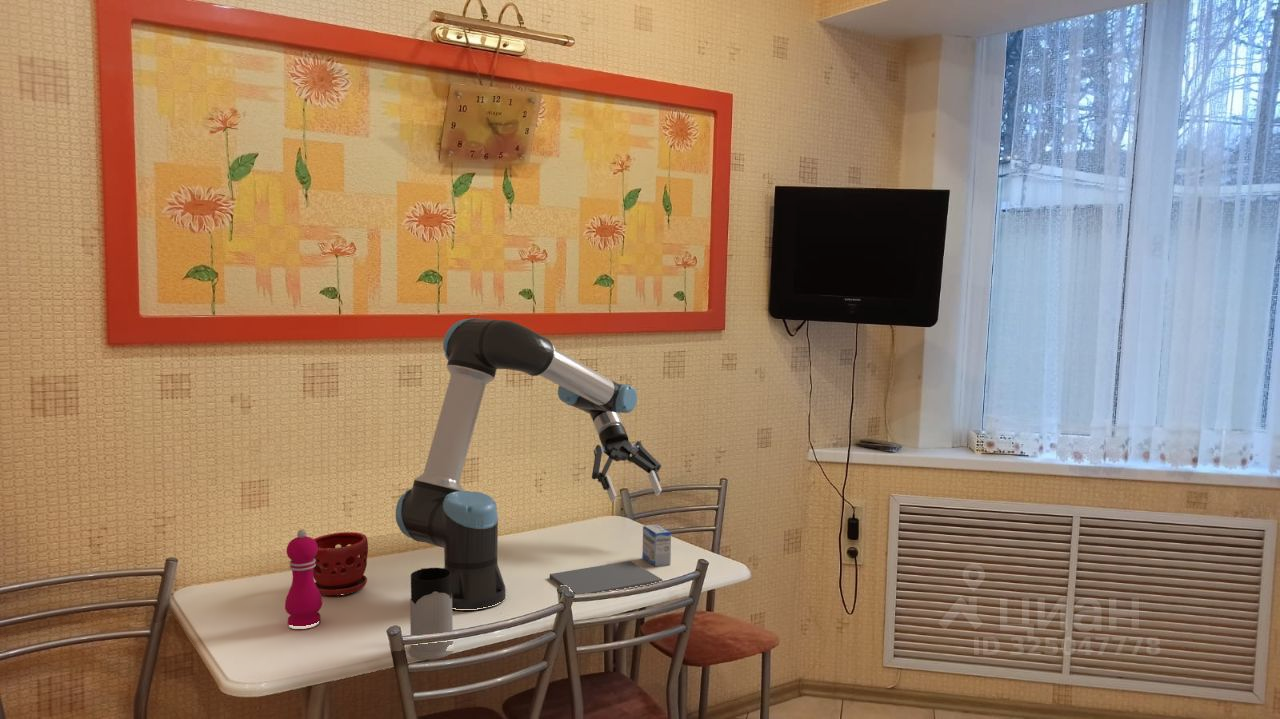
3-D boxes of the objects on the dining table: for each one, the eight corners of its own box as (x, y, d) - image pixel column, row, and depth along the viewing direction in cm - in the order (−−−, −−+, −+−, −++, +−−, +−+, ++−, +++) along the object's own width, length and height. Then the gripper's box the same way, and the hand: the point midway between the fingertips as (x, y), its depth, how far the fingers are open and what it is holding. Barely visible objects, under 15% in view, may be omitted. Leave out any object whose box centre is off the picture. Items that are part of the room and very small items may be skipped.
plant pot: (338, 577, 210) (337, 528, 209) (380, 586, 205) (379, 535, 204) (295, 594, 199) (294, 542, 198) (339, 604, 193) (337, 550, 192)
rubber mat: (577, 599, 197) (577, 594, 196) (549, 578, 211) (549, 574, 210) (662, 583, 207) (662, 579, 207) (630, 564, 221) (630, 560, 221)
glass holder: (412, 662, 163) (411, 584, 162) (400, 634, 176) (399, 561, 175) (459, 654, 167) (458, 577, 165) (444, 628, 180) (443, 556, 178)
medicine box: (641, 558, 226) (642, 525, 226) (657, 556, 228) (657, 523, 227) (655, 567, 219) (655, 533, 218) (671, 565, 221) (671, 531, 220)
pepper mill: (286, 633, 176) (283, 536, 175) (284, 621, 183) (282, 527, 181) (324, 628, 179) (321, 532, 177) (321, 615, 186) (319, 523, 184)
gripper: (645, 435, 252) (672, 498, 240) (566, 443, 240) (589, 509, 228) (655, 420, 247) (682, 483, 235) (574, 426, 235) (598, 493, 223)
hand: (636, 496), depth 232 cm, fingers open, 13 cm apart
